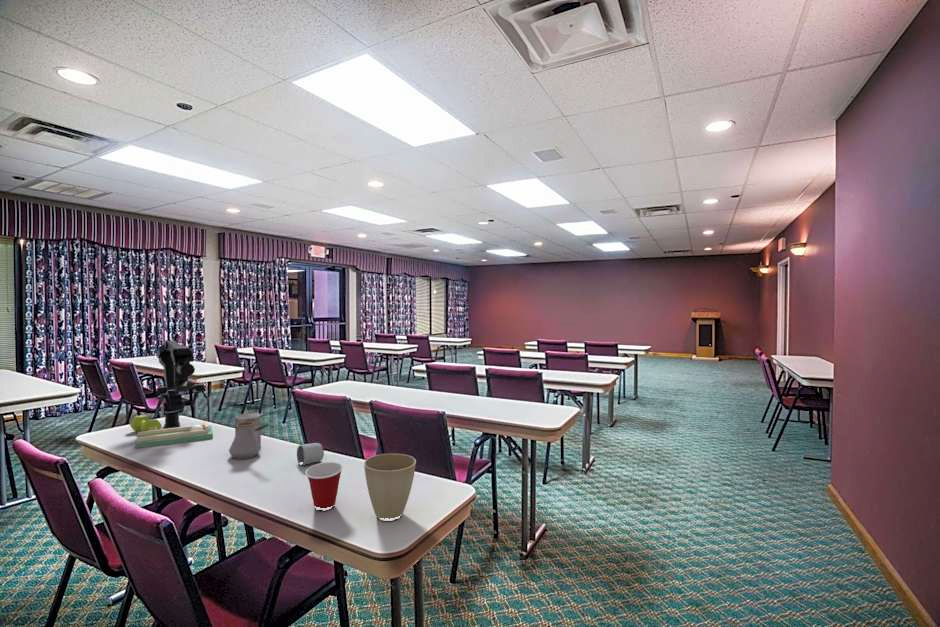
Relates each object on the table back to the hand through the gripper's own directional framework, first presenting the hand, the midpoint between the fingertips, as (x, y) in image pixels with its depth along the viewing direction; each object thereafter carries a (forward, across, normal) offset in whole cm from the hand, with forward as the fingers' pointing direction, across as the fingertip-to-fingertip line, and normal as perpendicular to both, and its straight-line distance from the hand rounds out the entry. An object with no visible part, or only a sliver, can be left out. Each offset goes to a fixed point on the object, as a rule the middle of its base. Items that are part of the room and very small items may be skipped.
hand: (181, 407), depth 211 cm
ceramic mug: (+12, +42, -70) cm, 82 cm away
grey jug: (+12, +24, -39) cm, 47 cm away
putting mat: (+12, -2, -9) cm, 15 cm away
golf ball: (+10, +6, -9) cm, 15 cm away
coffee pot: (+12, +24, -54) cm, 60 cm away
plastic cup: (+12, +37, -112) cm, 119 cm away
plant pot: (+12, +52, -127) cm, 138 cm away
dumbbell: (+12, -14, +7) cm, 20 cm away
